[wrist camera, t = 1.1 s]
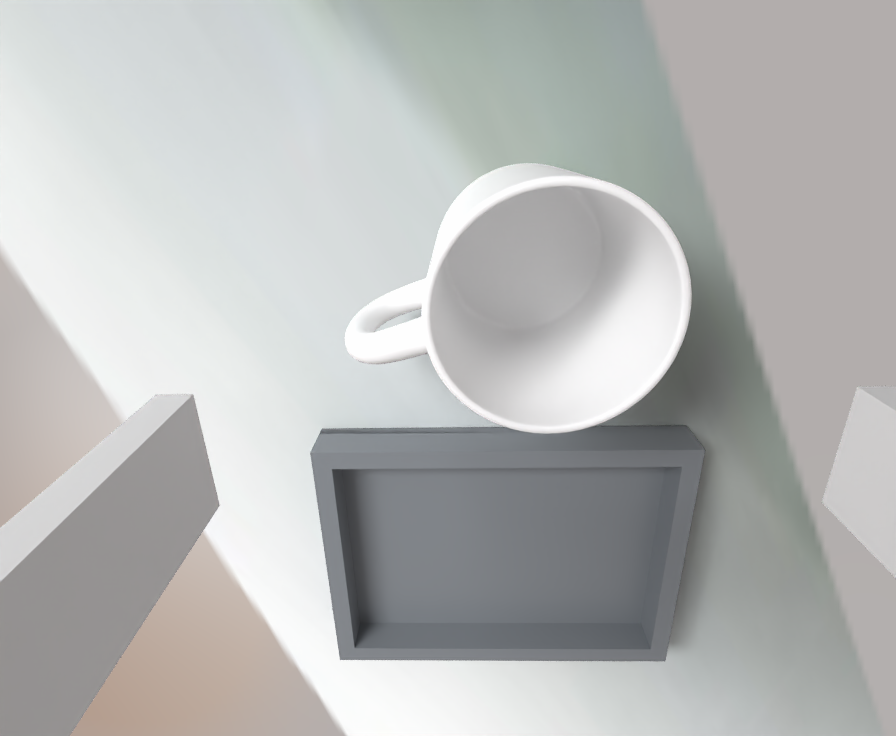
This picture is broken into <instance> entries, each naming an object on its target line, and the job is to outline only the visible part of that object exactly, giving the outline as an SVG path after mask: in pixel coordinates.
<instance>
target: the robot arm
mask: <svg viewBox="0 0 896 736" xmlns="http://www.w3.org/2000/svg"><path fill="white" fill-rule="evenodd" d="M822 503H823V504H824V505H825V506H826V507H827V508H828V509H829V510H830V511H831V512H832V513H833V515H835V517H836V518H837V519H839V521H840V522H841V523H842V524H843V525H844V526H845V527H846V528H847V529H848V530H849V531H850V532H851V533H852V534H853V535H854V536H855V537H856V538H857V539H858V540H859V541H860V542H861V543H862V544H863V545H864V546H865V547H866V548H867V549H868V550H869V551H870V552H871V553H872V555H873V556H874V557H876V559H877V560H878V561H879V562H880V563H881V564H882V565H883V566H884V567H885V568H886V569H887V570H888V571H889V572H890V573H891V574H892V575H893V576H894V577H895V578H896V386H868V387H867V386H862V387H857V390H856V393H855V396H854V400H853V403H852V406H851V409H850V412H849V416H848V419H847V422H846V425H845V429H844V432H843V435H842V438H841V441H840V445H839V448H838V451H837V454H836V458H835V461H834V464H833V467H832V471H831V474H830V477H829V480H828V483H827V487H826V490H825V493H824V496H823V500H822ZM219 506H220V505H219V501H218V497H217V492H216V488H215V484H214V480H213V476H212V472H211V467H210V463H209V459H208V455H207V451H206V446H205V442H204V438H203V434H202V430H201V425H200V421H199V417H198V413H197V409H196V404H195V400H194V396H193V394H181V395H155V396H154V397H153V398H152V399H150V400H149V401H148V402H147V403H146V404H145V405H143V406H142V407H141V408H140V409H139V410H138V411H136V412H135V413H134V414H133V415H132V416H130V417H129V418H128V419H127V420H126V421H125V422H123V423H122V424H121V425H120V426H119V427H118V428H116V429H115V430H114V431H113V432H112V433H111V434H110V435H108V436H107V437H106V438H105V439H104V440H103V441H101V442H100V443H99V444H98V445H97V446H95V447H94V448H93V449H92V450H91V451H90V452H88V453H87V454H86V455H85V456H84V457H83V458H81V459H80V460H79V461H78V462H77V463H76V464H74V465H73V466H72V467H71V468H70V469H69V470H67V471H66V472H65V473H64V474H63V475H62V476H61V477H59V478H58V479H57V480H56V481H55V482H54V483H52V484H51V485H50V486H49V487H48V488H47V489H45V490H44V491H43V492H42V493H40V494H39V495H38V496H37V497H36V498H35V499H33V500H32V501H31V502H30V503H29V504H28V505H26V506H25V507H24V508H23V509H22V510H21V511H19V512H18V513H17V514H16V515H15V516H14V517H13V518H11V519H10V520H9V521H8V522H7V523H5V524H4V525H3V526H2V527H1V528H0V736H70V735H71V733H72V731H73V730H74V728H75V727H76V725H77V724H78V722H79V721H80V719H81V718H82V716H83V714H84V713H85V711H86V710H87V708H88V707H89V705H90V704H91V702H92V701H93V699H94V698H95V696H96V695H97V693H98V692H99V690H100V688H101V687H102V685H103V684H104V682H105V680H106V679H107V678H108V676H109V674H110V673H111V671H112V670H113V668H114V667H115V665H116V664H117V662H118V661H119V659H120V658H121V656H122V655H123V653H124V651H125V650H126V648H127V647H128V645H129V644H130V642H131V641H132V639H133V638H134V636H135V634H136V633H137V631H138V630H139V628H140V627H141V625H142V624H143V622H144V621H145V619H146V618H147V616H148V615H149V613H150V612H151V610H152V608H153V607H154V605H155V604H156V602H157V601H158V599H159V598H160V596H161V595H162V593H163V592H164V590H165V588H166V587H167V585H168V584H169V582H170V581H171V579H172V578H173V576H174V575H175V573H176V572H177V570H178V568H179V567H180V565H181V564H182V562H183V561H184V559H185V558H186V556H187V555H188V553H189V552H190V550H191V549H192V547H193V546H194V544H195V542H196V541H197V539H198V538H199V536H200V535H201V533H202V532H203V530H204V529H205V527H206V526H207V524H208V522H209V521H210V519H211V518H212V516H213V515H214V513H215V512H216V510H217V509H218V507H219Z"/></svg>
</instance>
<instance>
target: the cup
mask: <svg viewBox="0 0 896 736" xmlns="http://www.w3.org/2000/svg"><path fill="white" fill-rule="evenodd" d="M691 297H692V290H691V279H690V273H689V268H688V264H687V261H686V258H685V254H684V252H683V250H682V247H681V245H680V243H679V241H678V239H677V237H676V236H675V234H674V232H673V230H672V229H671V228H670V226H669V225H668V224H667V222H666V221H665V220H664V219H663V218H662V216H661V215H660V214H659V213H658V212H657V211H656V210H655V209H654V208H653V207H651V206H650V205H649V204H648V203H647V202H646V201H644V200H643V199H641V198H640V197H638V196H637V195H635V194H634V193H632V192H630V191H628V190H626V189H624V188H622V187H620V186H617V185H615V184H612V183H610V182H607V181H603V180H600V179H596V178H593V177H589V176H586V175H582V174H579V173H576V172H572V171H569V170H565V169H562V168H558V167H555V166H551V165H545V164H539V163H521V164H514V165H508V166H505V167H501V168H498V169H496V170H493V171H491V172H489V173H487V174H485V175H483V176H481V177H480V178H478V179H477V180H475V181H474V182H473V183H471V184H470V185H469V186H468V187H467V188H465V189H464V190H463V191H462V192H461V193H460V195H459V196H458V197H457V198H456V199H455V201H454V202H453V203H452V205H451V206H450V208H449V209H448V211H447V213H446V215H445V217H444V219H443V221H442V223H441V226H440V229H439V232H438V235H437V239H436V243H435V247H434V251H433V255H432V259H431V263H430V267H429V270H428V274H427V278H425V279H423V280H420V281H417V282H414V283H411V284H409V285H406V286H404V287H401V288H399V289H396V290H394V291H392V292H389V293H387V294H385V295H383V296H381V297H379V298H377V299H376V300H374V301H372V302H371V303H369V304H368V305H366V306H365V307H364V308H362V309H361V310H360V311H359V312H358V313H357V314H356V315H355V317H354V318H353V319H352V321H351V322H350V323H349V325H348V327H347V330H346V334H345V345H346V349H347V351H348V352H349V354H350V355H351V356H352V357H353V358H355V359H356V360H358V361H360V362H362V363H368V364H385V363H391V362H396V361H401V360H405V359H408V358H412V357H416V356H419V355H423V354H426V353H428V354H429V356H430V359H431V361H432V364H433V366H434V368H435V369H436V371H437V373H438V375H439V376H440V378H441V379H442V381H443V382H444V384H445V385H446V386H447V388H448V389H449V390H450V391H451V392H452V393H453V394H454V395H455V396H456V397H457V398H458V399H459V400H460V401H461V402H462V403H463V404H464V405H466V406H467V407H468V408H469V409H471V410H472V411H474V412H475V413H477V414H478V415H480V416H482V417H484V418H485V419H487V420H489V421H491V422H494V423H496V424H498V425H501V426H504V427H507V428H510V429H515V430H519V431H524V432H531V433H544V434H549V433H564V432H571V431H576V430H581V429H585V428H588V427H592V426H595V425H597V424H600V423H603V422H605V421H607V420H609V419H611V418H613V417H616V416H617V415H619V414H621V413H622V412H624V411H626V410H627V409H629V408H630V407H632V406H633V405H634V404H636V403H637V402H638V401H640V400H641V399H642V398H643V397H644V396H646V395H647V394H648V393H649V392H650V391H651V390H652V389H653V388H654V387H655V386H656V384H657V383H658V382H659V381H660V380H661V378H662V377H663V376H664V375H665V373H666V372H667V370H668V369H669V367H670V366H671V364H672V363H673V361H674V359H675V357H676V356H677V354H678V351H679V349H680V347H681V345H682V343H683V340H684V337H685V334H686V331H687V327H688V323H689V318H690V311H691ZM418 309H422V315H421V316H422V317H419V318H416V319H413V320H410V321H408V322H405V323H402V324H399V325H396V326H393V327H390V328H387V329H384V330H380V331H376V330H377V329H378V328H379V327H380V326H381V325H383V324H384V323H386V322H387V321H389V320H391V319H393V318H395V317H398V316H400V315H403V314H405V313H408V312H412V311H415V310H418ZM375 331H376V332H375Z"/></svg>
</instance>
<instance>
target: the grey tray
mask: <svg viewBox="0 0 896 736" xmlns="http://www.w3.org/2000/svg"><path fill="white" fill-rule="evenodd" d="M310 454H311V461H312V468H313V474H314V481H315V488H316V495H317V502H318V509H319V516H320V523H321V530H322V537H323V544H324V551H325V558H326V565H327V572H328V579H329V586H330V593H331V600H332V607H333V614H334V621H335V628H336V635H337V642H338V649H339V655H340V660H498V661H665V660H666V655H667V649H668V644H669V639H670V633H671V628H672V623H673V618H674V612H675V607H676V602H677V596H678V591H679V586H680V581H681V575H682V570H683V565H684V559H685V554H686V549H687V544H688V538H689V533H690V528H691V522H692V517H693V512H694V507H695V501H696V496H697V491H698V486H699V480H700V475H701V470H702V464H703V459H704V454H705V449H704V448H703V446H702V445H701V444H700V443H699V441H698V440H697V439H696V437H695V436H694V435H693V434H692V432H691V431H690V430H689V428H688V427H687V426H592V427H588V428H585V429H581V430H576V431H571V432H564V433H549V434H544V433H531V432H524V431H519V430H515V429H510V428H507V427H464V428H352V429H322V430H321V432H320V434H319V436H318V438H317V440H316V442H315V444H314V446H313V448H312V451H311V453H310Z"/></svg>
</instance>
